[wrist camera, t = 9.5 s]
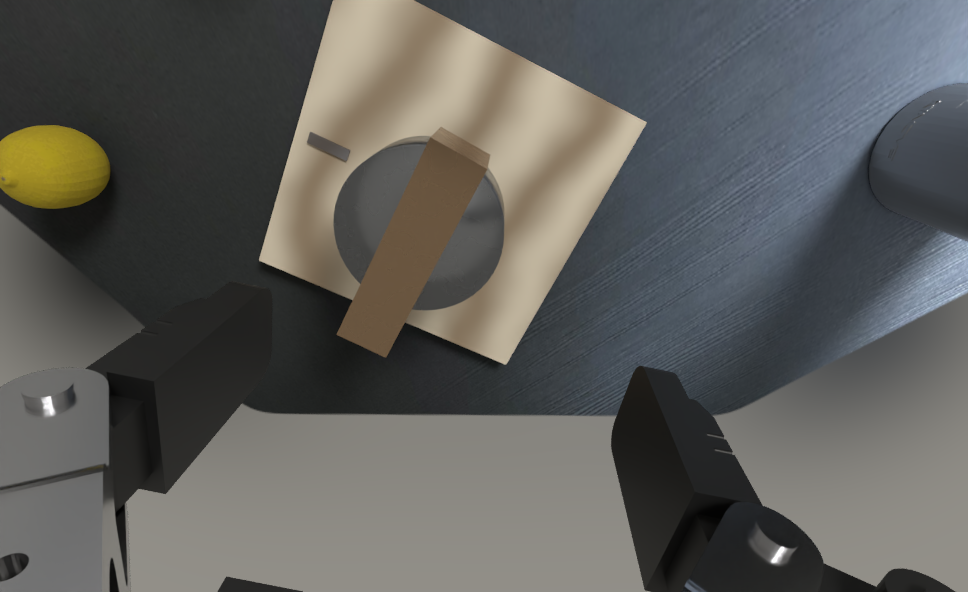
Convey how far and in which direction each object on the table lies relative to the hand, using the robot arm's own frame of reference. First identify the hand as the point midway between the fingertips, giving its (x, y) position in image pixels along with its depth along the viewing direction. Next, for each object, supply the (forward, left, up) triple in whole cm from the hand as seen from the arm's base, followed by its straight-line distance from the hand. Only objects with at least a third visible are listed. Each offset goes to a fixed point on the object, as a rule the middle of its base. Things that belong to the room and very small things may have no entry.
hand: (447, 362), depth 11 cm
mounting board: (+2, +4, -29) cm, 29 cm away
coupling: (+2, +4, -27) cm, 27 cm away
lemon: (+27, +13, -29) cm, 42 cm away
